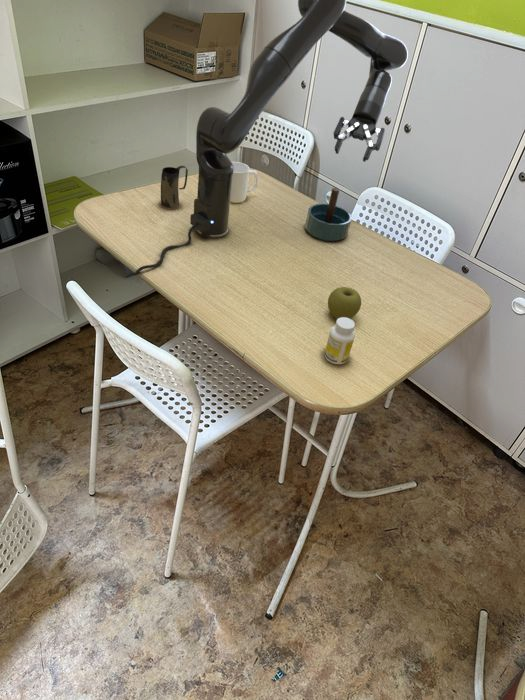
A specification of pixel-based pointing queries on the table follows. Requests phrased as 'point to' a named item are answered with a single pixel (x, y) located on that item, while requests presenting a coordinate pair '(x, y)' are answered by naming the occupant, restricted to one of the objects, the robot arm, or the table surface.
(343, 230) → the bowl
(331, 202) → the brown rod with base
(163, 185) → the mug
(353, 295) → the apple
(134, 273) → the robot arm
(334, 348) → the supplement bottle
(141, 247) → the table surface
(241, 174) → the cup
